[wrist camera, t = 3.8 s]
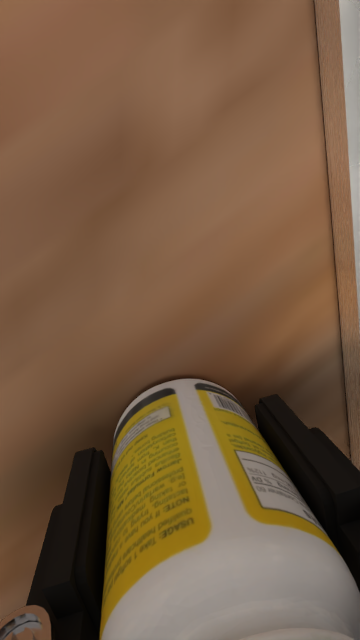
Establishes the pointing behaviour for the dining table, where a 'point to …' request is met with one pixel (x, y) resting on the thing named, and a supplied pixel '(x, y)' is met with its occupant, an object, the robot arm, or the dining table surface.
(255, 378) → the dining table surface
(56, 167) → the dining table surface
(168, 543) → the supplement bottle
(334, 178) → the gray plate
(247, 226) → the dining table surface
